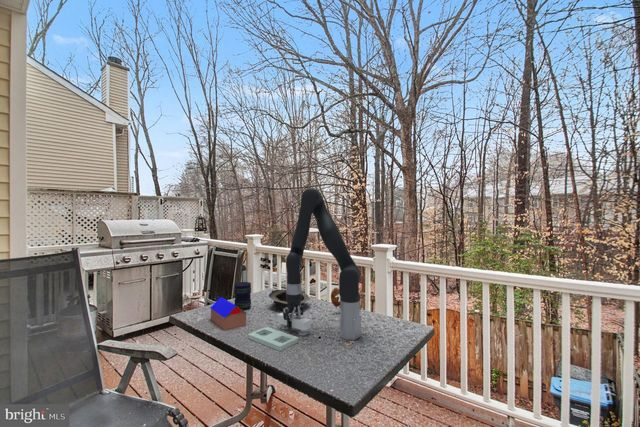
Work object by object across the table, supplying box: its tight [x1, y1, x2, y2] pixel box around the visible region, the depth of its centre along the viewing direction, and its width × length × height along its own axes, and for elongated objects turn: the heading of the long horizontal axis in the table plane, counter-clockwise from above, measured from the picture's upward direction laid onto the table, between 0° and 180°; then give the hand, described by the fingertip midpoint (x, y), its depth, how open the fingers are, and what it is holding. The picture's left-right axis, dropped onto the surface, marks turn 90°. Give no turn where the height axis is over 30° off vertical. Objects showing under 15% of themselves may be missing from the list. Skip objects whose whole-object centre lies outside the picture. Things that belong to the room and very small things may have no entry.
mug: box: [330, 287, 340, 308], centre depth 182 cm, size 15×8×15 cm, turn 84°
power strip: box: [276, 312, 312, 337], centre depth 156 cm, size 18×5×7 cm, turn 52°
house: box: [209, 296, 247, 331], centre depth 167 cm, size 12×20×12 cm, turn 39°
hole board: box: [247, 326, 300, 352], centre depth 145 cm, size 21×12×2 cm, turn 52°
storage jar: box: [233, 281, 252, 312], centre depth 191 cm, size 10×10×15 cm
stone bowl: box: [268, 289, 310, 311], centre depth 194 cm, size 25×25×9 cm
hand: (293, 326), depth 156 cm, fingers open, 5 cm apart
